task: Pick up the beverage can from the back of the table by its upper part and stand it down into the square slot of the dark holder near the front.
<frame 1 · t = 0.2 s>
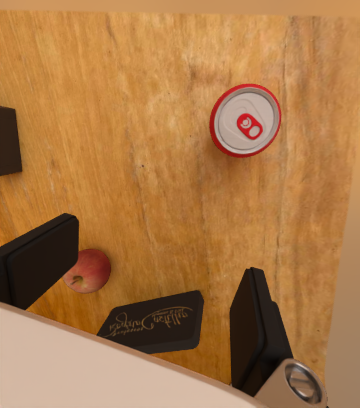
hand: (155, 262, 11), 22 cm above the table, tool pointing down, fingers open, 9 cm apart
nameplate: (155, 302, 42), on the table
apple: (99, 258, 41), on the table
beverage can: (237, 124, 28), on the table
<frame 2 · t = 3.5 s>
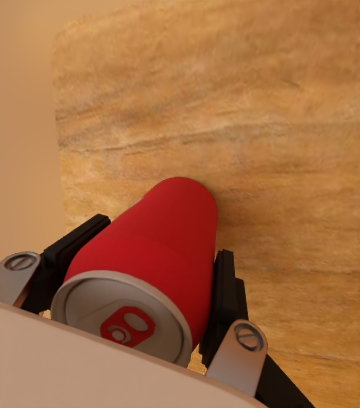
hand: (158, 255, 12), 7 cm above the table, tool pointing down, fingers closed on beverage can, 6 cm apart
beverage can: (182, 209, 18), on the table, touching gripper
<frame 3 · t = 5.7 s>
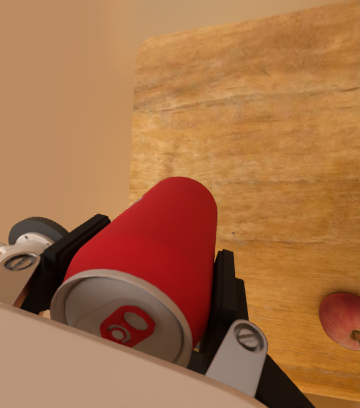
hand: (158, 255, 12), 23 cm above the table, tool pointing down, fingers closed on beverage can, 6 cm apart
apple: (336, 301, 36), on the table
beverage can: (182, 208, 18), point 16 cm above the table, touching gripper
holder: (196, 339, 46), on the table
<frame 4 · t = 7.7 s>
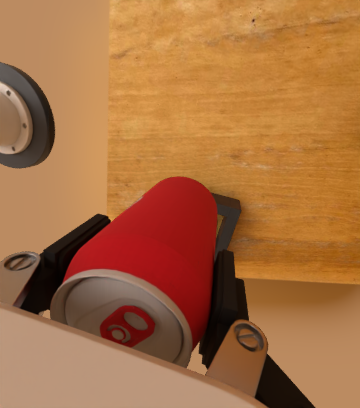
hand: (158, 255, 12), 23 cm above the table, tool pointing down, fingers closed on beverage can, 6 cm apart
beverage can: (182, 208, 18), point 16 cm above the table, touching gripper
holder: (199, 219, 36), on the table
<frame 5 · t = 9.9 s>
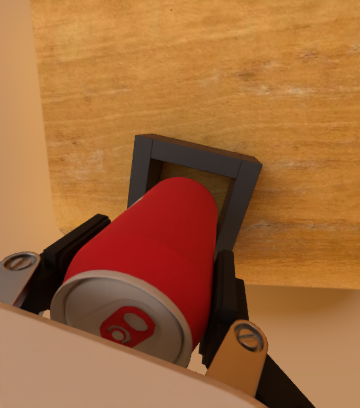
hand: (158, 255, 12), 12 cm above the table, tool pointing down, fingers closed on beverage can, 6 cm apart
beverage can: (182, 208, 18), point 5 cm above the table, touching gripper
holder: (190, 193, 23), on the table
when the fingers open (7 cm above the table, at t = 11.8 s): beverage can stays where it is, resting in holder.
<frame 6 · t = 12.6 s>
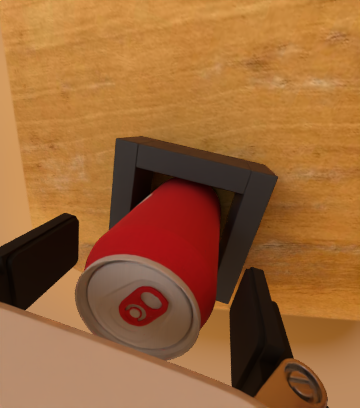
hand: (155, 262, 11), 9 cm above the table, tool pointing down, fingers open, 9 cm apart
beverage can: (187, 206, 19), resting in holder
holder: (187, 207, 19), on the table
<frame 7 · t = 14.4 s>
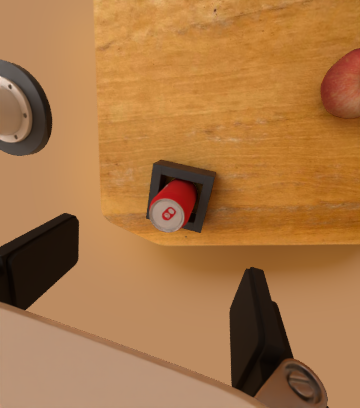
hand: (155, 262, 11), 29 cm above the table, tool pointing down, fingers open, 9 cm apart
apple: (341, 90, 30), on the table
beverage can: (182, 191, 40), resting in holder
holder: (182, 192, 40), on the table
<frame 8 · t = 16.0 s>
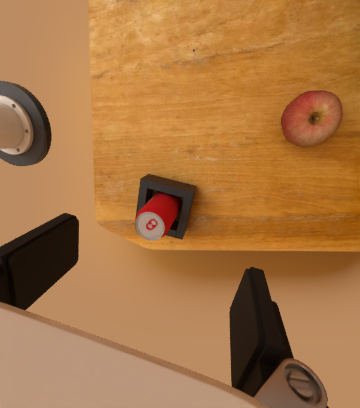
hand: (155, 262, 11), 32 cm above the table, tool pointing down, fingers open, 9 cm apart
apple: (300, 120, 35), on the table
beverage can: (167, 202, 45), resting in holder
holder: (167, 202, 45), on the table
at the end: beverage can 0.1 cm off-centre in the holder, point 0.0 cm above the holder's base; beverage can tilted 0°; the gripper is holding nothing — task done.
